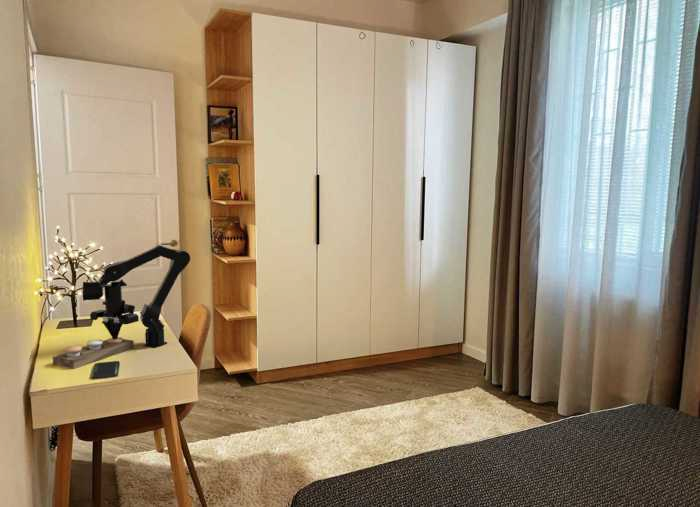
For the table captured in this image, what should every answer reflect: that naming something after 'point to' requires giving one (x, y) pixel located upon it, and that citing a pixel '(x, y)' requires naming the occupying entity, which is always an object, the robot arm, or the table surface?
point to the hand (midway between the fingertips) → (115, 339)
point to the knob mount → (92, 354)
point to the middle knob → (95, 344)
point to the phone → (105, 370)
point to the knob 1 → (73, 351)
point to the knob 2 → (115, 340)
